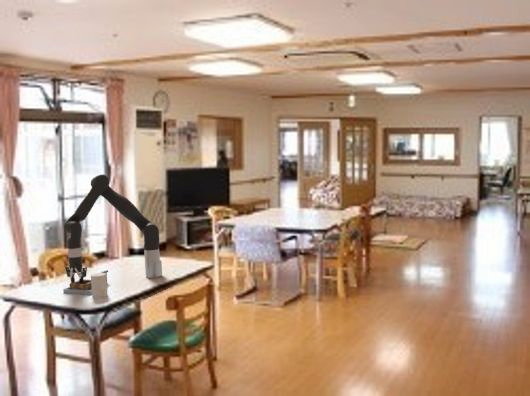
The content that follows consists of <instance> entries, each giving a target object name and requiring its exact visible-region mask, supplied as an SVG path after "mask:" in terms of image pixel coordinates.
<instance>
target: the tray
mask: <svg viewBox="0 0 530 396" xmlns="http://www.w3.org/2000/svg"><path fill="white" fill-rule="evenodd" d="M108 288H109V286H108V283H107V289H108ZM63 294H75V295H88V296H92V290H76V289H70V286H68V287H65V288H63Z"/></svg>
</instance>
